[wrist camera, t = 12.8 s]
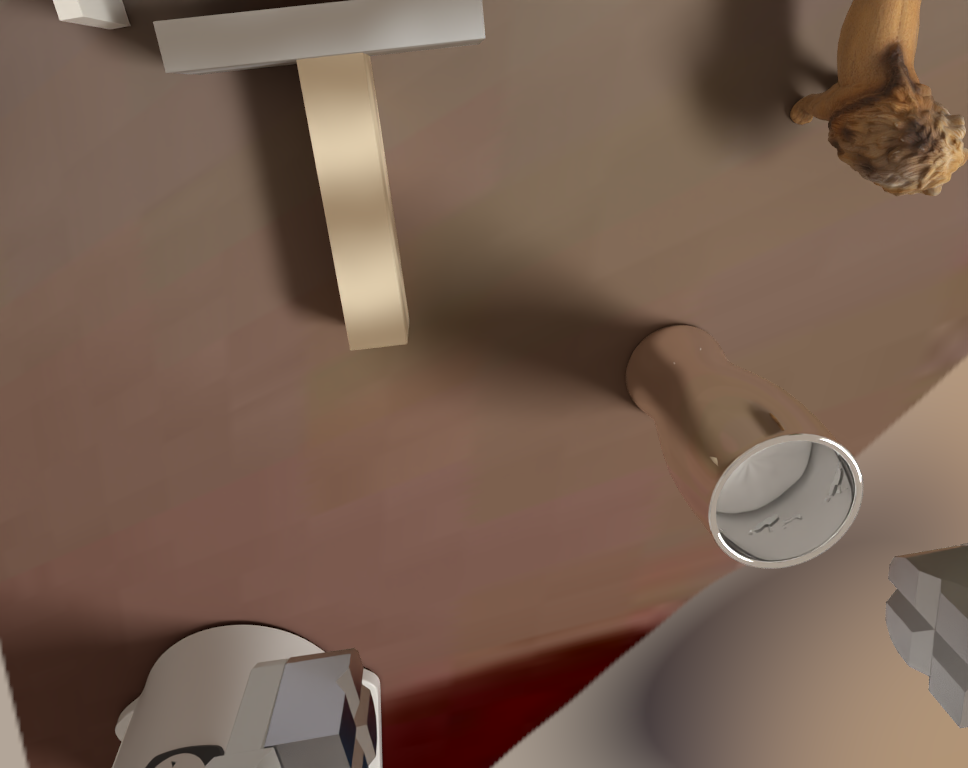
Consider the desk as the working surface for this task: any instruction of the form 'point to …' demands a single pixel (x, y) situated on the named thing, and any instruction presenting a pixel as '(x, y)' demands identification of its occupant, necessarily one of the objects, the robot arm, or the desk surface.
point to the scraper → (337, 121)
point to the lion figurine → (886, 104)
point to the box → (93, 13)
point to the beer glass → (744, 451)
